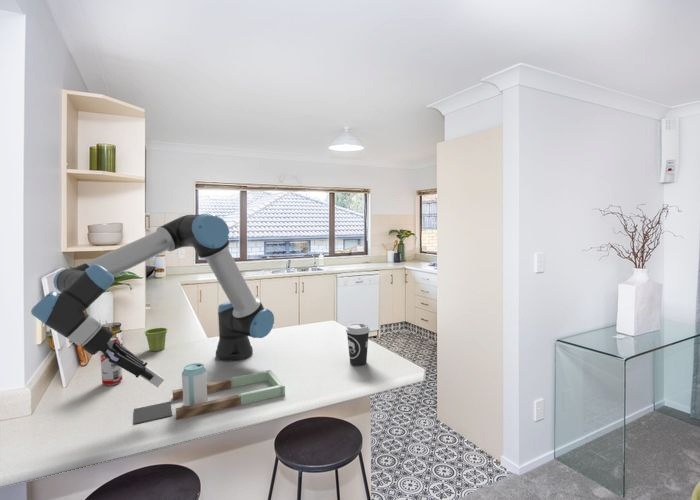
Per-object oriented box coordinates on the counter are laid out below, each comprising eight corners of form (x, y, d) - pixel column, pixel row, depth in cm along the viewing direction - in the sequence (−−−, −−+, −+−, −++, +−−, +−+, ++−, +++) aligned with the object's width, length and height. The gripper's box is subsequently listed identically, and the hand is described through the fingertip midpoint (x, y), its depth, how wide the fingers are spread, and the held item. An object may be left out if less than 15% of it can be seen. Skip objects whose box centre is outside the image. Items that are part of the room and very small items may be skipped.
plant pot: (148, 354, 170) (147, 334, 170) (142, 349, 177) (141, 330, 177) (171, 349, 176) (170, 330, 176) (164, 344, 184) (163, 326, 183)
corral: (240, 404, 122) (240, 395, 122) (230, 386, 136) (230, 377, 136) (285, 394, 128) (284, 385, 128) (270, 377, 143) (270, 369, 142)
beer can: (107, 387, 136) (105, 342, 135) (98, 384, 139) (95, 339, 138) (126, 381, 141) (123, 337, 140) (116, 378, 145) (114, 335, 144)
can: (188, 399, 127) (186, 362, 126) (210, 398, 127) (208, 361, 126) (179, 409, 120) (177, 371, 119) (203, 408, 120) (201, 370, 119)
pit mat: (133, 424, 111) (133, 423, 111) (134, 409, 120) (134, 408, 120) (172, 415, 116) (172, 414, 116) (170, 402, 124) (170, 401, 124)
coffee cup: (368, 368, 150) (367, 329, 149) (343, 366, 152) (343, 328, 151) (371, 359, 160) (371, 323, 159) (348, 358, 162) (348, 322, 161)
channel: (176, 419, 113) (176, 411, 113) (172, 397, 127) (172, 390, 127) (240, 405, 122) (239, 397, 122) (229, 386, 136) (229, 379, 136)
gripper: (83, 340, 114) (150, 385, 123) (77, 353, 102) (151, 402, 111) (104, 320, 116) (168, 365, 125) (100, 330, 104) (171, 380, 113)
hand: (160, 382), depth 118 cm, fingers closed
